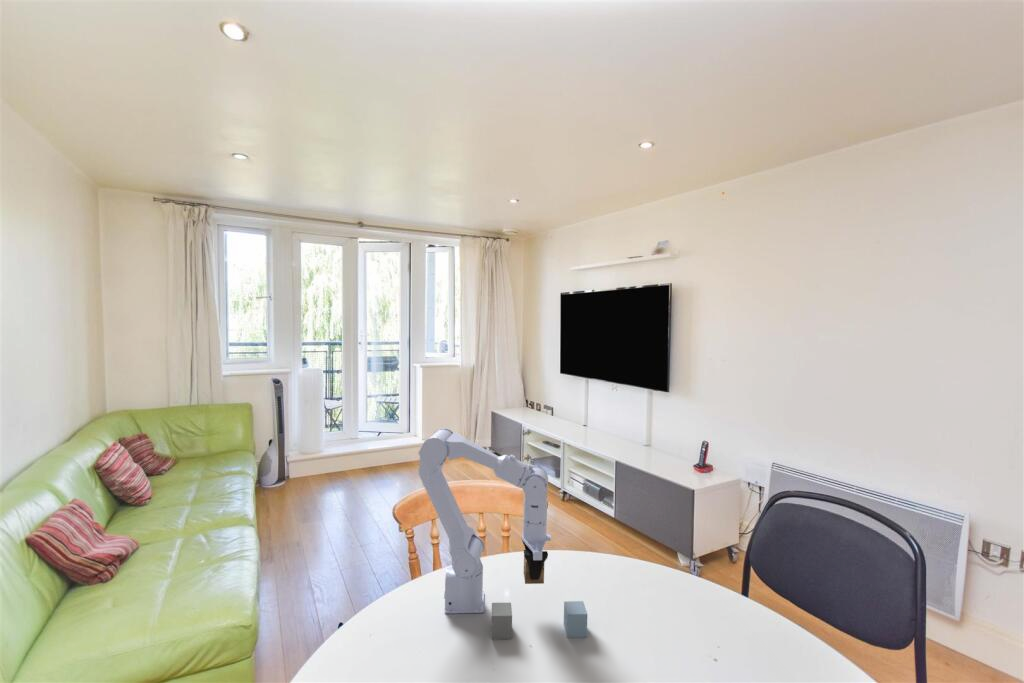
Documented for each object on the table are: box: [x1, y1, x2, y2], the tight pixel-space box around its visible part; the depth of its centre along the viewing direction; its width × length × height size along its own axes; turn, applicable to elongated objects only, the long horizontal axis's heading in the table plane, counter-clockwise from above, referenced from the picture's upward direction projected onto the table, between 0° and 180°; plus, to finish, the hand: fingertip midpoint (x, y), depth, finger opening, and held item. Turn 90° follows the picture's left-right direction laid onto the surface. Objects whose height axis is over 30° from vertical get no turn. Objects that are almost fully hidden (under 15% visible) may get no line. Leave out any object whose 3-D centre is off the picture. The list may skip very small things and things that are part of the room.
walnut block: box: [523, 555, 545, 585], centre depth 110 cm, size 4×4×6 cm
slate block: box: [563, 600, 588, 639], centre depth 104 cm, size 4×4×6 cm
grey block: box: [490, 602, 513, 640], centre depth 103 cm, size 4×4×6 cm
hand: (533, 572), depth 110 cm, fingers closed on walnut block, 4 cm apart
